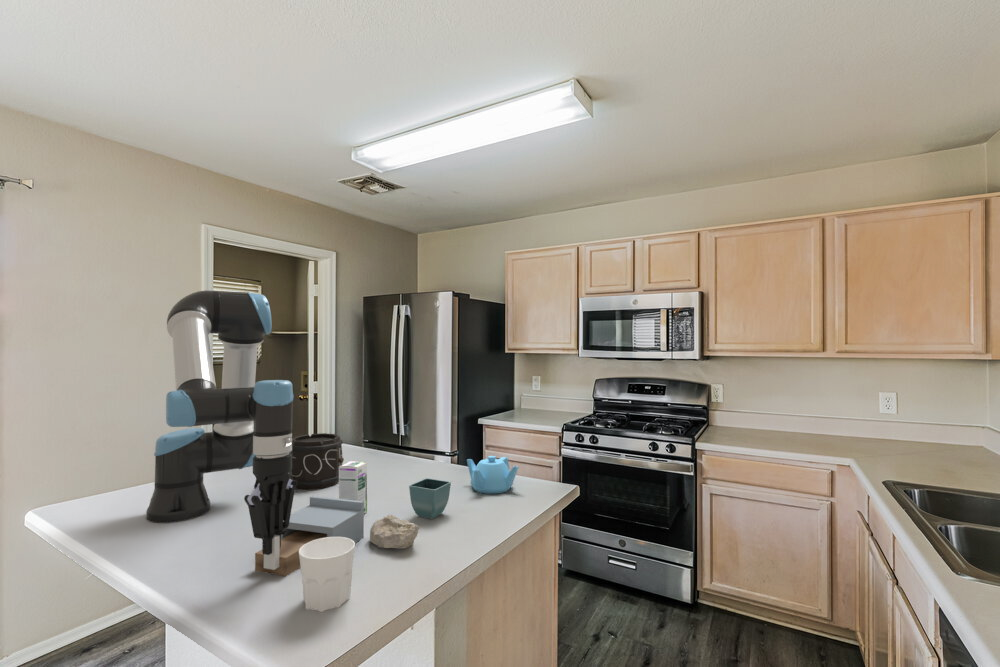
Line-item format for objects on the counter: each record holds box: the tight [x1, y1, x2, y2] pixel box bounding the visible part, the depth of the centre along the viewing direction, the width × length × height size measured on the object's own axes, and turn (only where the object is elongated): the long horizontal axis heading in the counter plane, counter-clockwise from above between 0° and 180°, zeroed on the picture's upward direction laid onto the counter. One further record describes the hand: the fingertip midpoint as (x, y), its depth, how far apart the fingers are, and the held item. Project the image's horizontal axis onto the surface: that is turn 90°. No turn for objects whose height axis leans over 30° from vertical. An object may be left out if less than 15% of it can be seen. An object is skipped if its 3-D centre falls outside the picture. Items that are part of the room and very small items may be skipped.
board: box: [254, 530, 327, 577], centre depth 110 cm, size 8×14×4 cm, turn 164°
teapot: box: [466, 455, 519, 495], centre depth 163 cm, size 15×15×11 cm
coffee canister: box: [289, 432, 345, 491], centre depth 169 cm, size 18×18×16 cm
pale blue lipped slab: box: [281, 495, 365, 544], centre depth 118 cm, size 15×13×9 cm
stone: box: [369, 514, 420, 549], centre depth 117 cm, size 8×12×10 cm, turn 55°
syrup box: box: [338, 460, 368, 515], centre depth 138 cm, size 6×6×14 cm
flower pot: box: [408, 477, 452, 520], centre depth 138 cm, size 9×9×9 cm
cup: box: [299, 537, 356, 613], centre depth 93 cm, size 10×10×10 cm
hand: (271, 567), depth 102 cm, fingers closed
